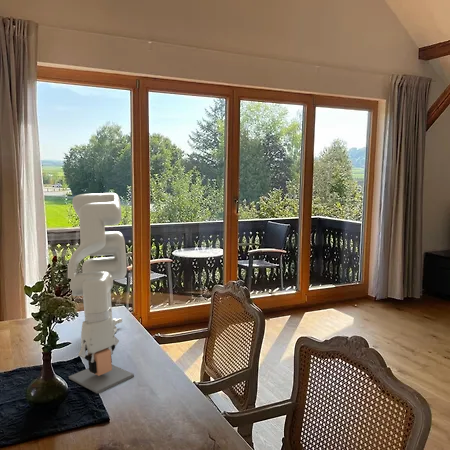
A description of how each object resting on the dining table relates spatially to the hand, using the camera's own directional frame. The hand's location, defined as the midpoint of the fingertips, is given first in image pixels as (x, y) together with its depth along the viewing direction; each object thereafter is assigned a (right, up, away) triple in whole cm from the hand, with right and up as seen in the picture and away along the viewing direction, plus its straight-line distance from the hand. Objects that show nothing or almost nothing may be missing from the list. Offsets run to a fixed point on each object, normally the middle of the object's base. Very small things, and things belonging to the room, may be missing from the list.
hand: (100, 368), depth 147 cm
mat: (0, -3, 0) cm, 3 cm away
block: (0, -1, 0) cm, 1 cm away
